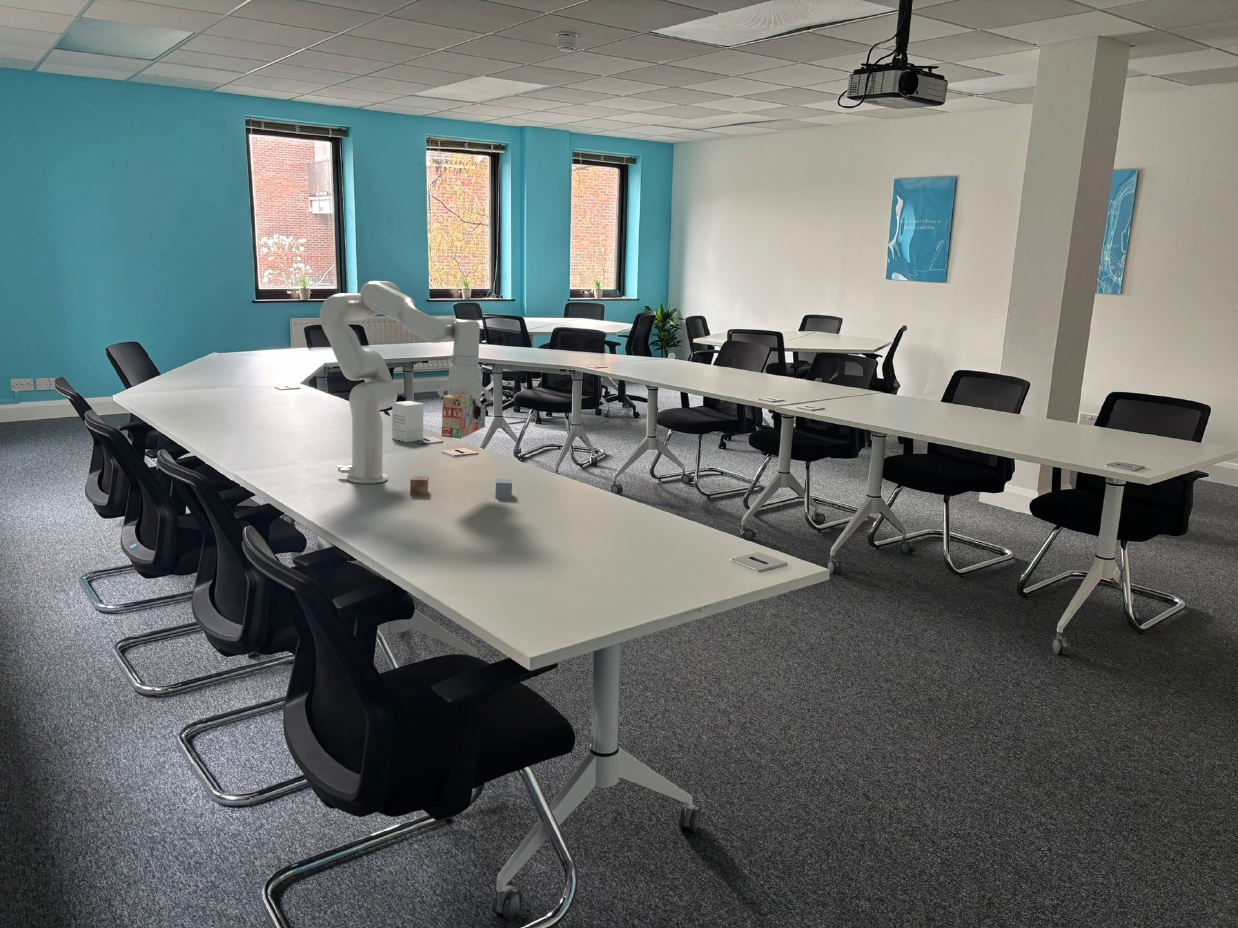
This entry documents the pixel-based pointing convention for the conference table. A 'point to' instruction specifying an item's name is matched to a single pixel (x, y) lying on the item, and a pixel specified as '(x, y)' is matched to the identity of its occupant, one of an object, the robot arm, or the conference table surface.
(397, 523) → the conference table surface
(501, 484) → the slate cube
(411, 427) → the supplement box
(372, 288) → the robot arm
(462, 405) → the stack of blocks
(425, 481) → the walnut cube
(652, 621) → the conference table surface
